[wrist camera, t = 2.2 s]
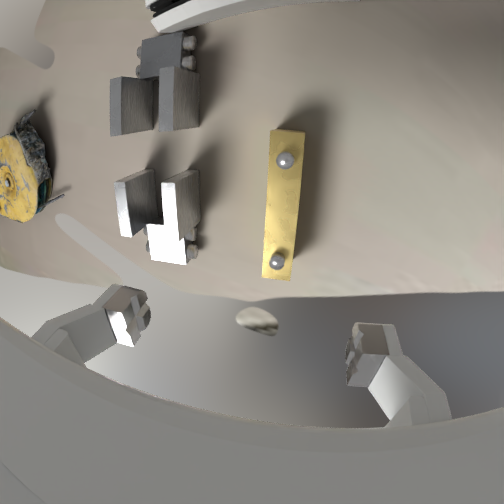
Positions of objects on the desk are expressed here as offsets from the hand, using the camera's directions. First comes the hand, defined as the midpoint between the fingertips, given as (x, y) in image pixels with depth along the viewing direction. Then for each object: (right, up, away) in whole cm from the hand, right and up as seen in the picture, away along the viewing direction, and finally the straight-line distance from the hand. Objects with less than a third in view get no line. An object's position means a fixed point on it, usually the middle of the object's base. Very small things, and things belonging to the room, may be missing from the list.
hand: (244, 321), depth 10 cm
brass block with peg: (+3, +7, +14) cm, 16 cm away
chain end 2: (-8, +6, +17) cm, 19 cm away
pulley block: (-38, +14, +20) cm, 45 cm away
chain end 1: (-7, +18, +10) cm, 22 cm away
